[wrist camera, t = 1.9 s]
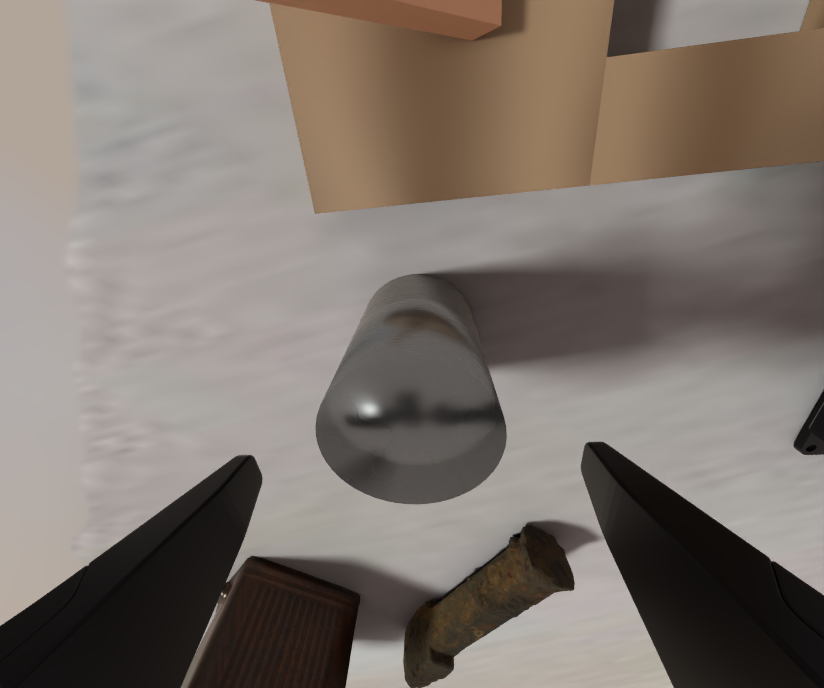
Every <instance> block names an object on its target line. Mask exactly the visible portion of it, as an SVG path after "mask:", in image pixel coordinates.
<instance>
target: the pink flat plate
mask: <svg viewBox="0 0 824 688" xmlns="http://www.w3.org/2000/svg"><path fill="white" fill-rule="evenodd" d="M257 1H262V2H268V3H273V4H278V5H284V6H289V7H295V8H300V9H305V10H311V11H316V12H322V13H327V14H332V15H338V16H343V17H348V18H354V19H359V20H365V21H370V22H375V23H381V24H386V25H392V26H397V27H402V28H408V29H413V30H418V31H424V32H429V33H435V34H440V35H445V36H451V37H456V38H461V39H467V40H474V39H476V38H478V37H480V36H482V35H484V34H486V33H488V32H490V31H492V30H494V29H496V28H498V27H500V26H501V15H502V0H257Z"/></svg>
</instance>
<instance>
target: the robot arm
mask: <svg viewBox="0 0 824 688" xmlns="http://www.w3.org/2000/svg"><path fill="white" fill-rule="evenodd" d="M794 448H795V449H796V450H798V451H799V452H801V453H802V454H804V455H820V454H824V393H823V394H822V396H821V398H820V400H819V401H818V403H817V405H816V407H815V408H814V410H813V412H812V414H811V415H810V417H809V419H808V421H807V422H806V424H805V426H804V428H803V429H802V431H801V433H800V434H799V436H798V438H797V440H796V441H795V443H794ZM581 472H582V475H583V478H584V481H585V484H586V487H587V490H588V493H589V496H590V499H591V502H592V504H593V507H594V510H595V513H596V516H597V519H598V522H599V525H600V527H601V530H602V533H603V535H604V538H605V540H606V542H607V544H608V547H609V549H610V551H611V553H612V555H613V557H614V560H615V562H616V564H617V566H618V568H619V570H620V573H621V575H622V577H623V579H624V581H625V583H626V585H627V588H628V590H629V592H630V594H631V596H632V598H633V601H634V603H635V605H636V607H637V609H638V611H639V614H640V616H641V618H642V620H643V622H644V624H645V626H646V629H647V631H648V633H649V635H650V637H651V639H652V642H653V644H654V646H655V648H656V650H657V652H658V655H659V657H660V659H661V661H662V663H663V665H664V667H665V670H666V672H667V674H668V676H669V678H670V680H671V683H672V685H673V687H674V688H824V595H823V594H821V593H820V592H818V591H817V590H815V589H814V588H812V587H811V586H809V585H808V584H806V583H805V582H803V581H802V580H800V579H799V578H798V577H796V576H795V575H793V574H792V573H790V572H789V571H788V570H786V569H785V568H783V567H782V566H780V565H779V564H778V563H776V562H774V561H771V560H770V558H769V557H767V556H766V555H765V554H763V553H762V552H760V551H759V550H757V549H756V548H755V547H753V546H752V545H750V544H749V543H747V542H746V541H745V540H743V539H742V538H740V537H739V536H737V535H736V534H735V533H733V532H732V531H730V530H729V529H727V528H726V527H725V526H723V525H722V524H720V523H719V522H717V521H716V520H715V519H713V518H712V517H710V516H709V515H707V514H706V513H705V512H703V511H702V510H700V509H699V508H697V507H696V506H695V505H693V504H692V503H690V502H689V501H687V500H686V499H685V498H683V497H682V496H680V495H679V494H677V493H676V492H675V491H673V490H672V489H670V488H669V487H667V486H666V485H665V484H663V483H662V482H660V481H659V480H657V479H656V478H655V477H653V476H652V475H650V474H649V473H647V472H646V471H645V470H643V469H642V468H640V467H639V466H637V465H636V464H635V463H633V462H632V461H630V460H629V459H627V458H626V457H625V456H623V455H622V454H620V453H619V452H617V451H616V450H615V449H613V448H612V447H610V446H609V445H607V444H606V443H604V442H588V443H586V444H585V446H584V451H583V457H582V462H581ZM261 485H262V474H261V471H260V469H259V467H258V465H257V462H256V460H255V458H254V457H253V456H252V455H239V456H236V457H235V458H233V459H232V460H230V461H229V462H228V463H226V464H225V465H223V466H222V467H221V468H219V469H218V470H217V471H215V472H214V473H213V474H211V475H210V476H208V477H207V478H206V479H204V480H203V481H202V482H200V483H199V484H197V485H196V486H195V487H193V488H192V489H191V490H189V491H188V492H186V493H185V494H184V495H182V496H181V497H180V498H178V499H177V500H175V501H174V502H173V503H171V504H170V505H169V506H167V507H166V508H164V509H163V510H162V511H160V512H159V513H158V514H156V515H155V516H154V517H152V518H151V519H149V520H148V521H147V522H145V523H144V524H143V525H141V526H140V527H138V528H137V529H136V530H134V531H133V532H132V533H130V534H129V535H127V536H126V537H125V538H123V539H122V540H121V541H119V542H118V543H116V544H115V545H114V546H112V547H111V548H110V549H108V550H107V551H105V552H104V553H103V554H101V555H100V556H99V557H97V558H96V559H94V560H93V561H92V562H90V564H89V566H85V567H83V568H82V569H81V570H79V571H78V572H77V573H75V574H74V575H73V576H71V577H70V578H68V579H67V580H66V581H64V582H63V583H61V584H60V585H59V586H57V587H56V588H54V589H53V590H52V591H50V592H49V593H47V594H46V595H45V596H43V597H42V598H40V599H39V600H38V601H36V602H35V603H33V604H32V605H30V606H29V607H28V608H26V609H25V610H23V611H22V612H20V613H19V614H17V615H16V616H14V617H13V618H11V619H10V620H8V621H7V622H5V623H4V624H2V625H1V626H0V688H181V686H182V684H183V681H184V679H185V677H186V674H187V672H188V670H189V667H190V665H191V663H192V660H193V658H194V656H195V653H196V651H197V649H198V646H199V644H200V641H201V639H202V637H203V634H204V632H205V630H206V627H207V625H208V623H209V620H210V618H211V616H212V613H213V611H214V609H215V606H216V604H217V602H218V599H219V597H220V595H221V592H222V590H223V587H224V585H225V583H226V580H227V578H228V576H229V573H230V571H231V569H232V566H233V564H234V562H235V559H236V557H237V555H238V552H239V550H240V547H241V545H242V542H243V540H244V537H245V534H246V532H247V529H248V526H249V522H250V519H251V516H252V513H253V510H254V507H255V504H256V501H257V497H258V494H259V491H260V488H261Z"/></svg>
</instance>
